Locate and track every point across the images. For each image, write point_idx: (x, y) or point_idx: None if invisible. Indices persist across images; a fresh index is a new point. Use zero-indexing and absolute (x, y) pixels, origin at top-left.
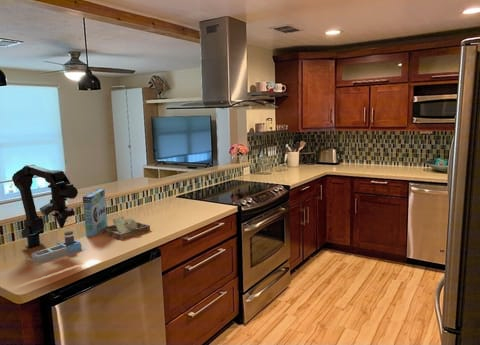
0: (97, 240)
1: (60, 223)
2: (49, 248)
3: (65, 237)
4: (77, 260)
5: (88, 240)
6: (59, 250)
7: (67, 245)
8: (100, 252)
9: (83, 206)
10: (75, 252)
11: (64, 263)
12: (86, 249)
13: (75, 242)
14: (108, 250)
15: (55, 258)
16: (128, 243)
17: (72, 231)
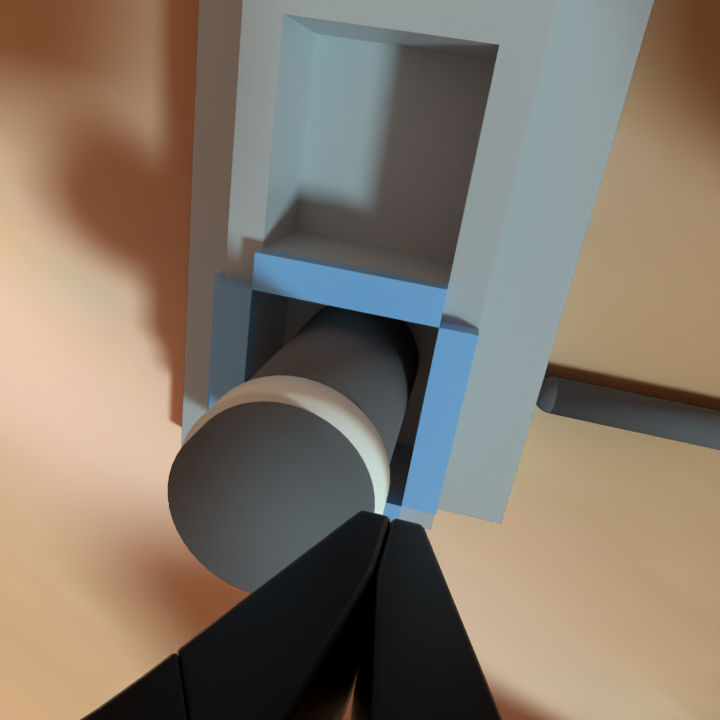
0: None
1: (226, 622)
2: (496, 60)
3: (284, 378)
4: (6, 179)
5: (518, 692)
6: (241, 117)
7: (312, 328)
8: (34, 463)
9: None
10: (202, 315)
11: (38, 15)
12: (181, 444)
13: None
14: (21, 530)
15: (235, 5)
16: (42, 710)
17: (252, 589)
